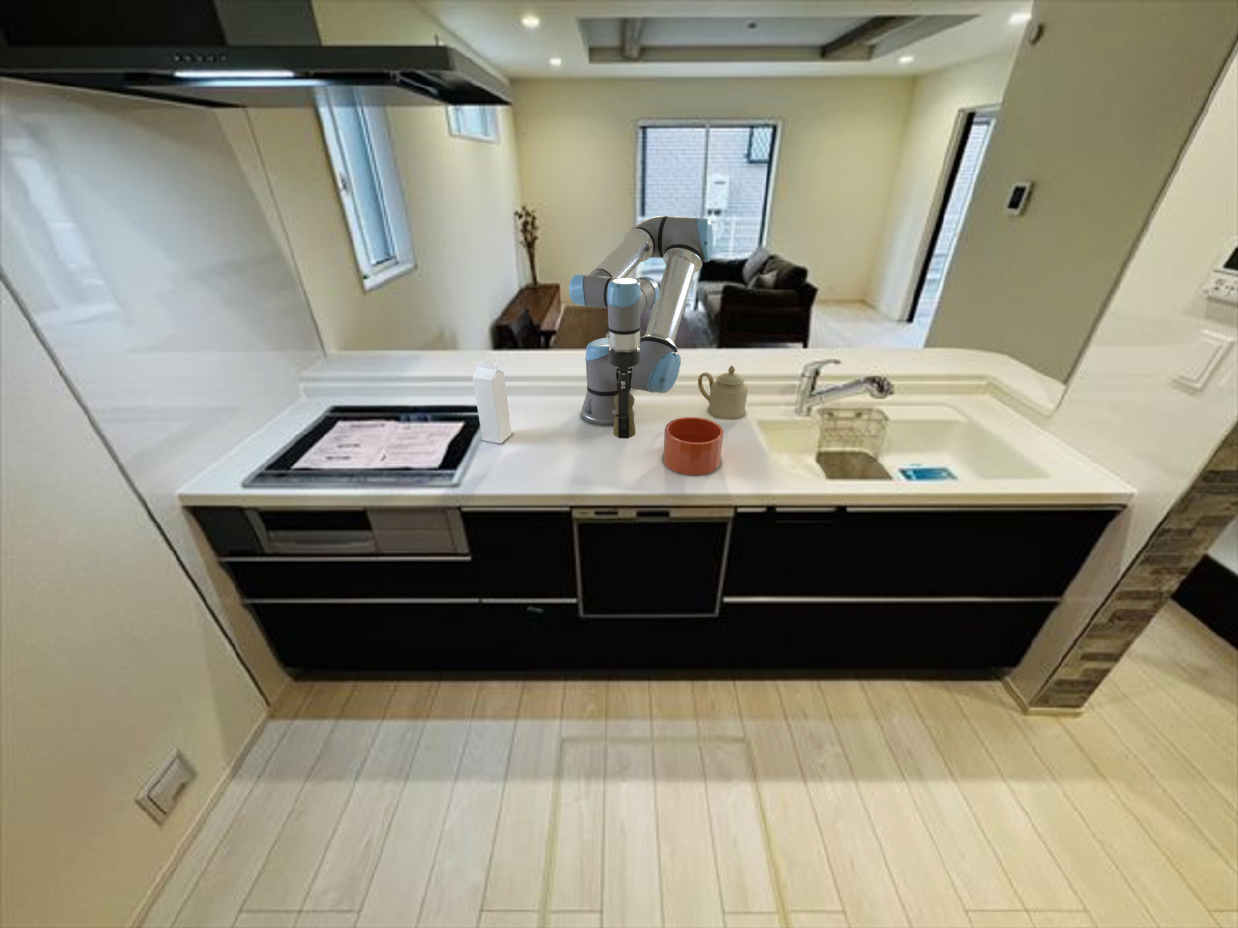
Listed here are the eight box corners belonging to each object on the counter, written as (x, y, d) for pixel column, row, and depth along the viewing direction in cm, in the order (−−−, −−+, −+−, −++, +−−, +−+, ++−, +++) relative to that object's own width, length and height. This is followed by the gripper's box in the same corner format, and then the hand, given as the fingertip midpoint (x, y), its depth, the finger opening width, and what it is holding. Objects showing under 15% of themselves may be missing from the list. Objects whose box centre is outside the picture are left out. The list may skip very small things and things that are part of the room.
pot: (662, 445, 142) (664, 416, 137) (716, 447, 141) (720, 417, 136) (664, 474, 129) (665, 443, 125) (723, 476, 129) (727, 444, 124)
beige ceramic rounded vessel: (695, 417, 157) (699, 370, 149) (696, 402, 166) (699, 357, 158) (745, 420, 155) (752, 373, 147) (743, 405, 164) (749, 359, 156)
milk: (493, 431, 149) (483, 357, 138) (512, 434, 148) (502, 360, 136) (482, 440, 144) (470, 365, 133) (501, 444, 143) (490, 368, 131)
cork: (633, 439, 134) (633, 400, 128) (610, 437, 135) (610, 398, 129) (637, 428, 139) (637, 390, 133) (615, 426, 140) (615, 389, 134)
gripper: (610, 334, 132) (612, 414, 145) (605, 361, 116) (607, 449, 129) (640, 334, 132) (639, 415, 145) (639, 362, 116) (637, 450, 129)
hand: (624, 431), depth 137 cm, fingers closed on cork, 6 cm apart
